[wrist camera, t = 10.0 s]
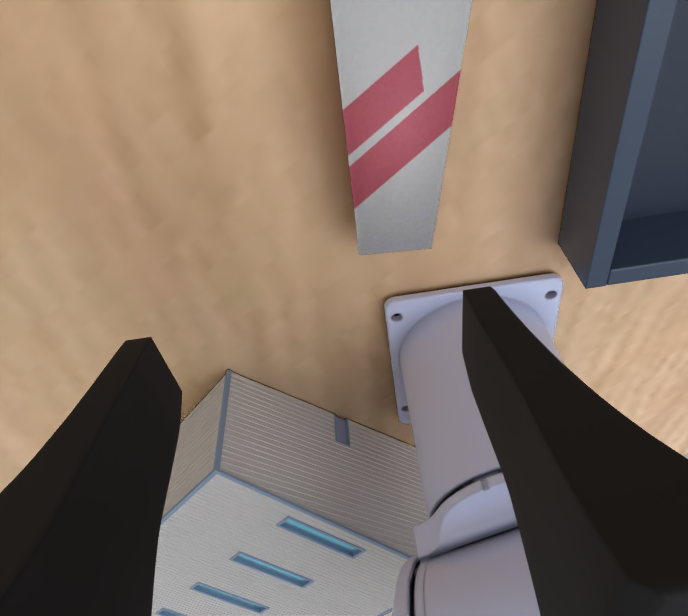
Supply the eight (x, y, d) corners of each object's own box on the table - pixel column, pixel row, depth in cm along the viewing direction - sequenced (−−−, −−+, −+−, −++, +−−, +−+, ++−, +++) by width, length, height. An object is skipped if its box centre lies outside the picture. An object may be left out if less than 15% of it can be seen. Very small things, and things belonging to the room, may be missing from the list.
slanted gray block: (227, 368, 27) (209, 513, 21) (431, 452, 33) (458, 579, 28) (38, 576, 42) (-1, 692, 36) (203, 606, 49) (191, 708, 43)
